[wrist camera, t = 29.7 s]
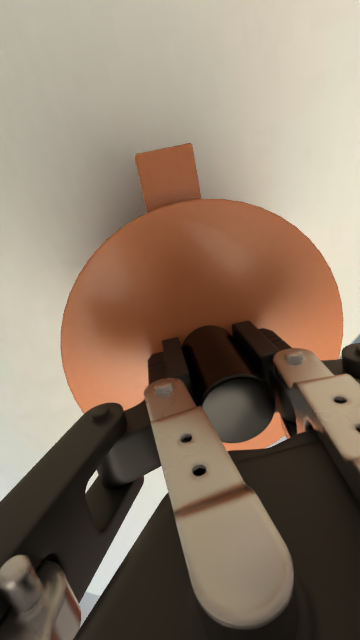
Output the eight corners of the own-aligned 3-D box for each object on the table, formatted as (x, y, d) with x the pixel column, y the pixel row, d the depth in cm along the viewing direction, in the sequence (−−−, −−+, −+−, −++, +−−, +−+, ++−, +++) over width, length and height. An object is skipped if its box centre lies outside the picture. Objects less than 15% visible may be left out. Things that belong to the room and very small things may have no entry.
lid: (109, 475, 17) (93, 599, 11) (25, 235, 13) (-61, 250, 7) (335, 418, 17) (424, 511, 12) (321, 171, 13) (444, 140, 8)
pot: (133, 395, 28) (128, 507, 17) (75, 194, 23) (15, 174, 12) (258, 365, 29) (329, 456, 18) (230, 162, 23) (307, 114, 13)
